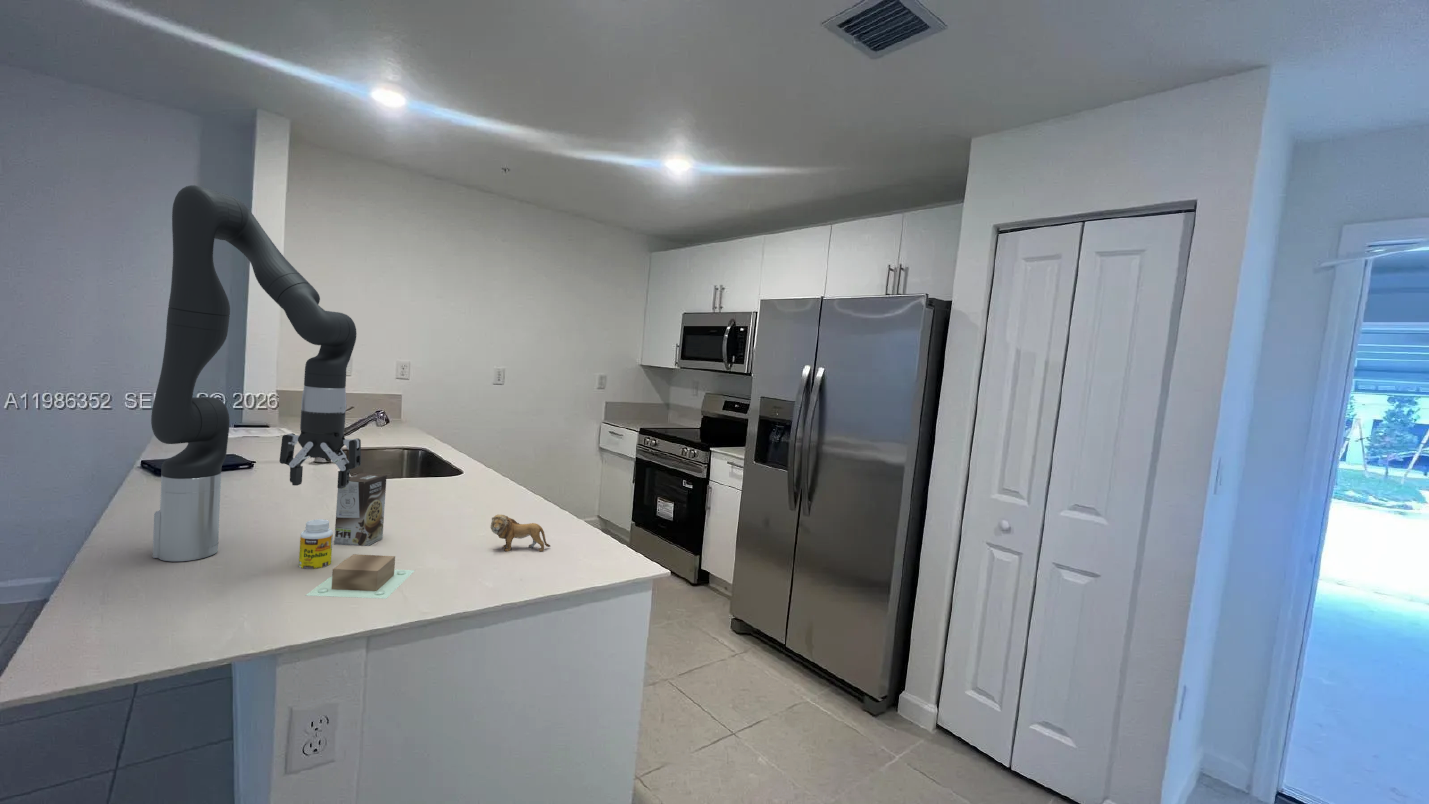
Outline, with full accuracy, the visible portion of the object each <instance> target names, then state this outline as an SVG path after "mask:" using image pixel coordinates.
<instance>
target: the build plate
mask: <svg viewBox="0 0 1429 804" xmlns="http://www.w3.org/2000/svg"><path fill="white" fill-rule="evenodd" d="M415 571H416V569H415V570H414V569H395V568H394V576H393V577H391V578H390V579H389V580H388V581H387V582H386V583H385V584H384V585H383V586H382V587H381V588H379V589H378V590H377V591H360V590H335V589H332V575H331V576H330V577H328V578H327V579H326V580H324V581H323V582H322V583H320V584H319V585H317V586H316V587H314V588H313V589H312V590H310V591H309V592H308V593H306V594H305V595H304V596H307V597H308V596H309V597H332V598H334V597H335V598H358V599H362V598H363V599H382V600H383V599H385V600H386V599H388V598H389V597H390V596H391V595H392V594H393V593H394V592H395V591H396V590H397V589H398V588H399V587H400V586H401V585H402V584H403V583H404V582H405V581H406V580H407V579H408V578H409V577H410V576H411V575H413V574H414V572H415Z"/></svg>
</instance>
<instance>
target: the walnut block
mask: <svg viewBox="0 0 1429 804" xmlns="http://www.w3.org/2000/svg"><path fill="white" fill-rule="evenodd" d="M395 565H396V556H395V555H381V554H380V555H377V554H375V555H374V554H359V553H357V554H356V553H354V554H352V555H350V556H348V557H347V558H346V559H344V560H343V561H342V562H340V563H339V564H337V565H336V566H335V567H334V568H332V572H331V573H332V575H331V576H332V589H335V590H360V591H377V590H378V589H379V588H381V587H382V586H383V585H384V584H385V583H386V582H387V581H388V580H389V579H390V578H391V577H393V576H394V569H395V567H396V566H395Z"/></svg>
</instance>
